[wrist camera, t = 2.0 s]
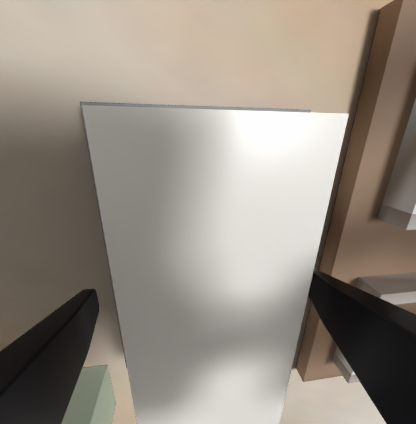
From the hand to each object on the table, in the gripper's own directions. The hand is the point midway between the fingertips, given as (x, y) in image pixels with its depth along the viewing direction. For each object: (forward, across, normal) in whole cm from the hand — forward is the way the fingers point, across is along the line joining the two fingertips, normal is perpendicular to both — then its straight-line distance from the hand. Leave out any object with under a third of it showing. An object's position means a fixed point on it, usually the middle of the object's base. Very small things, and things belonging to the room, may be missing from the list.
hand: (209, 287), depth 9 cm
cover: (+2, 0, 0) cm, 2 cm away
